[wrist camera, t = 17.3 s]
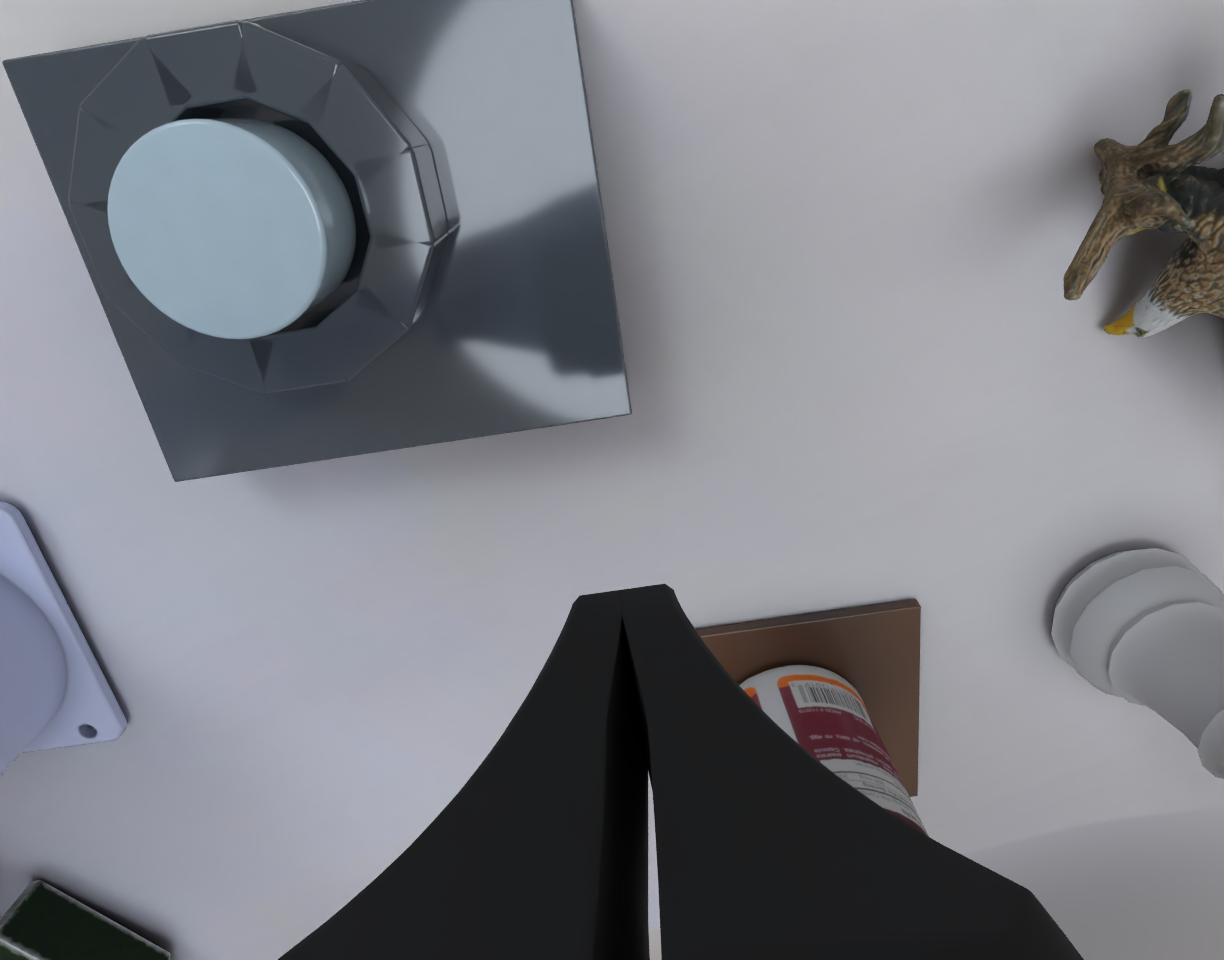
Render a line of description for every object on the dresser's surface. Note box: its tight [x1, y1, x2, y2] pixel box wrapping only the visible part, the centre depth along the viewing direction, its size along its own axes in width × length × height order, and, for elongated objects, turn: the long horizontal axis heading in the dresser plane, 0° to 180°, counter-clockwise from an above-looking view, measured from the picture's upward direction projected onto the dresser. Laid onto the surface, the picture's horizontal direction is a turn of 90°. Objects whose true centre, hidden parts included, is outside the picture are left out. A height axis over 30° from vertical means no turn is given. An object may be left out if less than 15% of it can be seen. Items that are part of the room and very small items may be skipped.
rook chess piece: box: [1051, 548, 1224, 779], centre depth 20 cm, size 4×4×8 cm
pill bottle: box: [739, 665, 929, 837], centre depth 21 cm, size 5×5×8 cm
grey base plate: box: [2, 0, 632, 482], centre depth 17 cm, size 11×9×4 cm
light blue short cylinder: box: [107, 118, 356, 339], centre depth 14 cm, size 4×4×2 cm
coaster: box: [695, 599, 921, 797], centre depth 25 cm, size 8×8×1 cm
